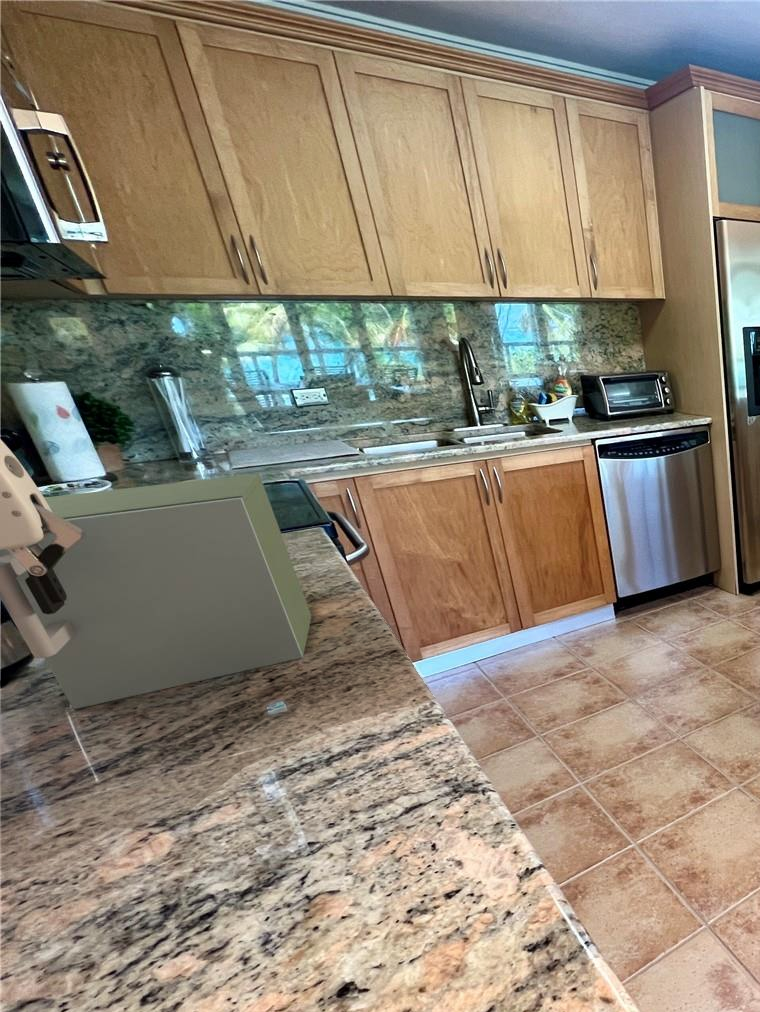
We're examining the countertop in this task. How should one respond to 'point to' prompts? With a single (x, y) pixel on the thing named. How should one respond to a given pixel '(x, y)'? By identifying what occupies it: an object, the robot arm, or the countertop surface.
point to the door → (154, 602)
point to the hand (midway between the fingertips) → (19, 613)
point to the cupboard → (205, 492)
